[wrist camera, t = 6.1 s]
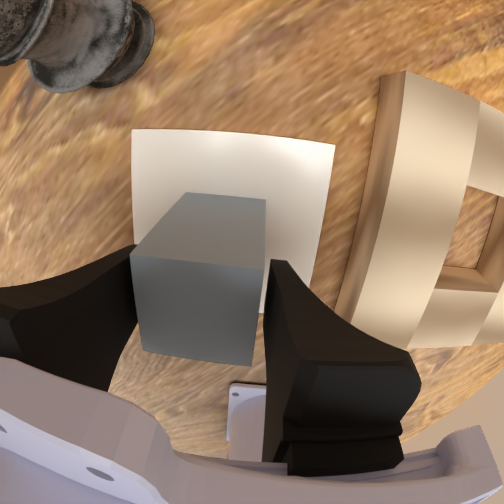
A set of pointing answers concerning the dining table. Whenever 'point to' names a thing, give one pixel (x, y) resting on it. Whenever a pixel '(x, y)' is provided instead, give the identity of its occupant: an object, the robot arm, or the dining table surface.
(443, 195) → the pocket board
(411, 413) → the dining table surface
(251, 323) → the peg
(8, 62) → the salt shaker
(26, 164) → the dining table surface
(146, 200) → the coaster
